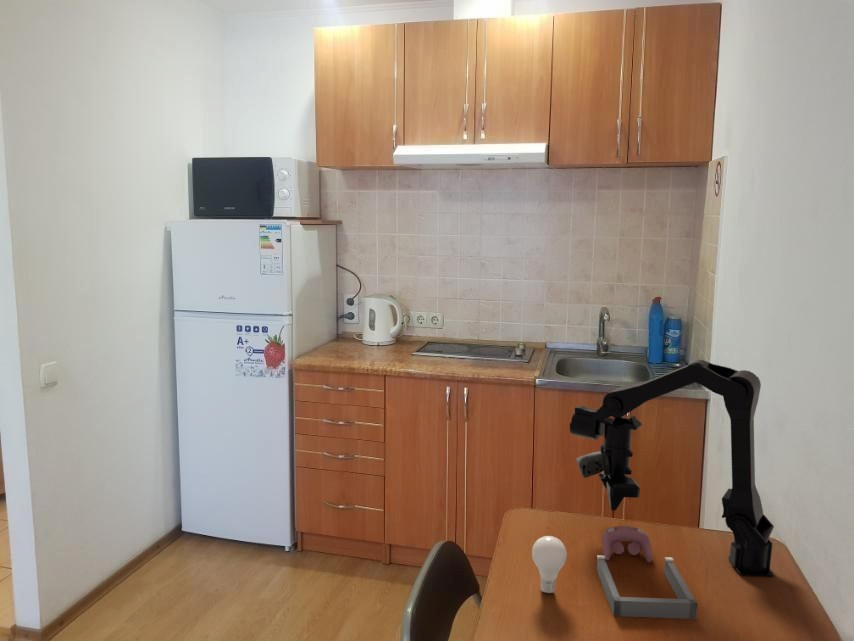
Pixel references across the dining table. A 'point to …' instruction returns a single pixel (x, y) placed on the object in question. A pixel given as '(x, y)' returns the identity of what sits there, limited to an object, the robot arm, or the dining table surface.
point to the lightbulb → (549, 560)
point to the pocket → (650, 606)
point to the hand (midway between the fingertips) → (613, 509)
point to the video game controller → (626, 533)
